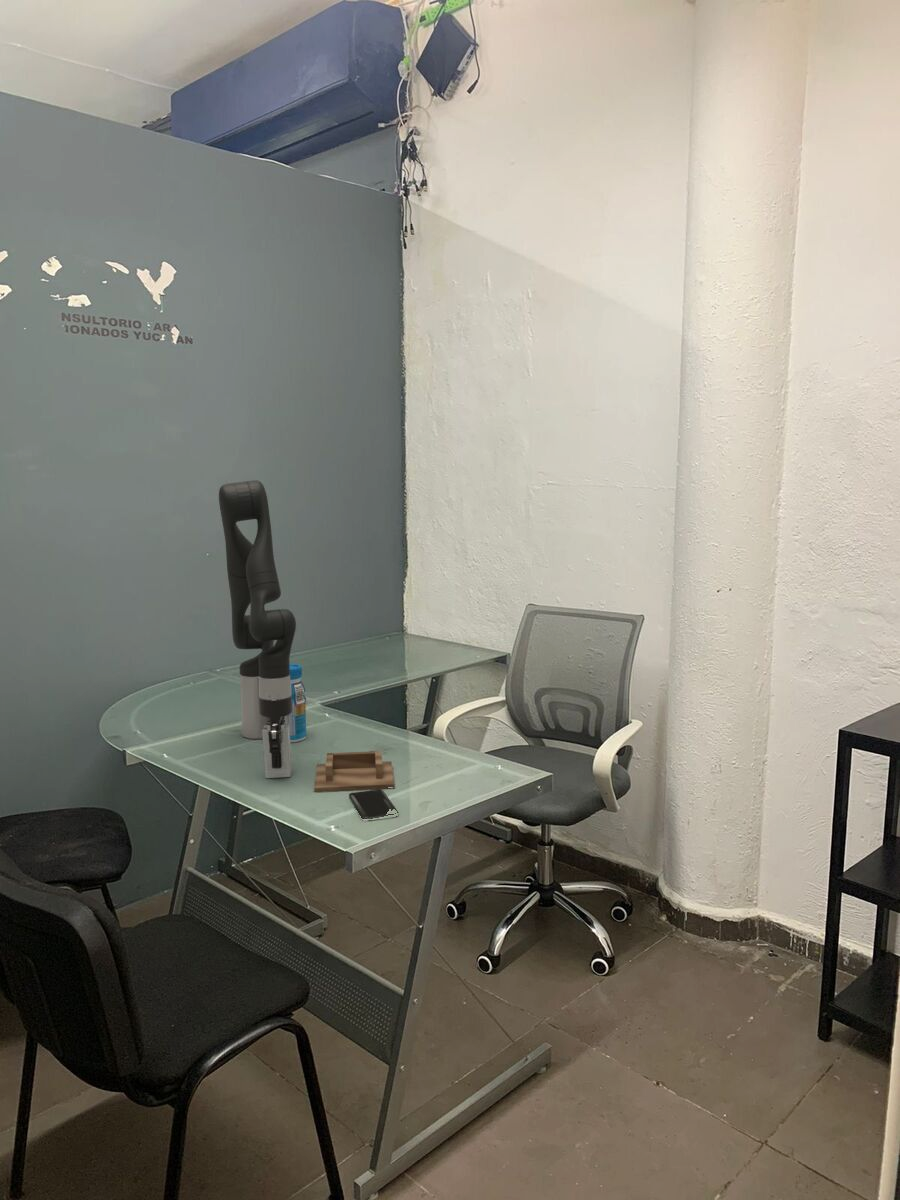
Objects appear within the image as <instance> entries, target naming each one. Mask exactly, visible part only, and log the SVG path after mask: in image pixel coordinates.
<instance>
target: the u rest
mask: <svg viewBox="0 0 900 1200" xmlns="http://www.w3.org/2000/svg"><path fill="white" fill-rule="evenodd" d="M325 759H326V760H325V763H320V764H319V763H318V764H316V772H315V778H314V787H313V788H314V789H313V791H314V793H321V792H323V793H326V792H345V791H349V792H350V791H368V790H367V789H371V790H380V789H379V788H388V787H394V788H395V781H394V779H395V778H394V771H393V764H392V761H391V760H389V761H387V760H386V761H383V757H382V750H376V751H375V750H374V751H355V752H354V751H351V752H350V751H349V752H329V753H328V752H326V758H325Z"/></svg>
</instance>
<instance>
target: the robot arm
mask: <svg viewBox="0 0 900 1200" xmlns="http://www.w3.org/2000/svg"><path fill="white" fill-rule="evenodd" d="M218 503H219V512H220V517H221V522H222V528H223V534H224V542H225V555H226V556H225V557H226V569H227V579H228V580H227V581H228V586H229V587H228V588H229V595H230V603H231V604H230V605H231V635H232V641H233V643H234V646H235V647H236V649H238V650H260V649H261V652H259V654H257V655H256V656H255V657H252V658H250V659H247V660H244V661H242V662H241V663H240V664H239V682H240V683H239V686H240V687H239V688H240V704H241V705H240V708H241V709H240V710H241V729H242V733H241V735H242V736H243V738H246V739H251V740H253V739H254V740H255V739H256V740H257V739H263V732H262V730H263V728H264V725H267V730H268V742H269V747H270V749H269V752H270V753H272V768H274V769H276V768H281V767H282V757H281V752H282V746H281V743H282V742H283V731H280V729H284V727H285V724H286V722H285V720H284V716H287V715H289V714H291V713H292V693H291V680H290V665H289V664H290V656H291V652H292V651H291V650H292V647H293V641H294V638H295V634H296V630H297V621H296V617H295V615H294V614H293V612H292V611H291V610H290V609H287V608H279V609H271V610H265V605H267V604H269V603H272V602H275V601H277V600H278V599H280V598H281V594H282V590H281V586H280V581H279V578H278V577H279V576H278V572H277V568H276V563H275V558H274V557H275V555H274V546H273V535H272V525H271V515H270V507H269V501H268V495H267V491H266V489H265V486H264V484H263V482H261V481H260V480H247V481H246V480H245V481H239V482H230V483H225V484H222V485H221V486H220V487H219V490H218ZM249 520H250V521H251V520H256V522H257V530H256V536H255V538H254V542H253V543H252V542H251V541H250V540H249V539H248V538H247V537H246V536H245V535H244V534H243V533H242V531H241V530H240V528H239V526H238V525H237V523H238V522H243V521H249ZM249 607H250V611H249V613H250V614H248V615H247V614H246V612H247V609H248V608H249ZM274 641H275V644H274ZM270 730H271V731H270ZM280 734H281V739H280ZM273 745H278V747H277V748H273Z"/></svg>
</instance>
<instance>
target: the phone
mask: <svg viewBox="0 0 900 1200" xmlns="http://www.w3.org/2000/svg"><path fill="white" fill-rule="evenodd" d="M348 799H349V800H350V803H351V804H352V806H353V805H354V806H353V807H354V809H355V808H356V809H355V811H356V810H357V811H358V813H359V814H358V813H357V814H358V816H359V815H360V816H361V818H362V819H373V818H379V817H384V816H388V815H394V814H388V815H386V814H387V812H388V811H389V809H391V811H392V810H393V809H395V810H396V811H397V813H398V814H399V811H398V810H397V808H396V806H394V804H393V802H392V801H391V800H390V798H389V797H388V796H387V794H386V793H385V790H384V789H371V790H361V791H356V792H350V793H348ZM357 811H356V812H357ZM395 814H396V813H395ZM360 816H359V817H360ZM361 818H360V819H361ZM362 819H361V820H362Z"/></svg>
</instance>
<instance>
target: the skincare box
mask: <svg viewBox="0 0 900 1200" xmlns="http://www.w3.org/2000/svg"><path fill="white" fill-rule="evenodd" d="M270 731H271V730H270ZM280 731H283V742H282V743H281V746H282V752H281V757H282V767H281V768H276V769H274V768H272V753H270V752H269V749H270V747H269V742H268V730H267V725H264V728H263V730H262V732H263V738H262V742H263V743H262V744H263V745H262V747H263V759H264V760H263V761H264V776H265V779H274V778H275V779H276V778H278V779H279V778H290V777H291V776H292V774H293V766H292V765H293V764H292V749H291V742H290V728H289V724H285V727H284V729H280ZM280 739H281V734H280ZM277 747H278V745H273V748H277Z"/></svg>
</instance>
